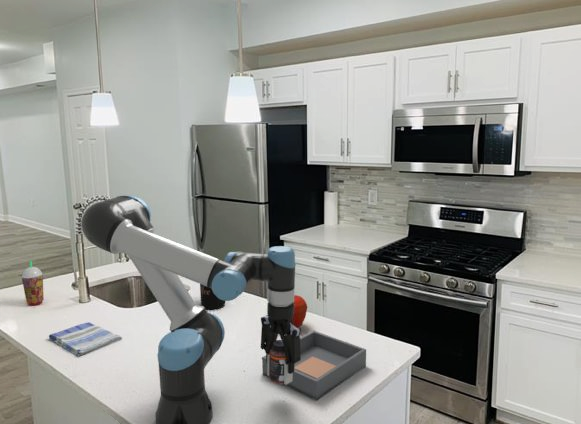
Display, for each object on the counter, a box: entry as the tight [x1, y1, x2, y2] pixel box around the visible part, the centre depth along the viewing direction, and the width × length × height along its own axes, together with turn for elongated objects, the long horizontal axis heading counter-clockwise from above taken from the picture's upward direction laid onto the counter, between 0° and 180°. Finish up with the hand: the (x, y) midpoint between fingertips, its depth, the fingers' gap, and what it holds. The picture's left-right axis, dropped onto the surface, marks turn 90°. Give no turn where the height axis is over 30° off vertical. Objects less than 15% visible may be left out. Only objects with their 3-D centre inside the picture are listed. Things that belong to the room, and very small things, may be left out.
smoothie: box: [21, 260, 45, 307], centre depth 209 cm, size 8×8×20 cm
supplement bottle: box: [268, 339, 287, 385], centre depth 133 cm, size 6×6×11 cm
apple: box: [292, 294, 308, 328], centre depth 182 cm, size 12×12×14 cm
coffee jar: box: [199, 284, 226, 311], centre depth 205 cm, size 11×11×18 cm
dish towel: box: [48, 321, 123, 357], centre depth 175 cm, size 17×24×3 cm
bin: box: [261, 330, 367, 401], centre depth 151 cm, size 26×22×6 cm
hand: (279, 377), depth 134 cm, fingers closed on supplement bottle, 6 cm apart
